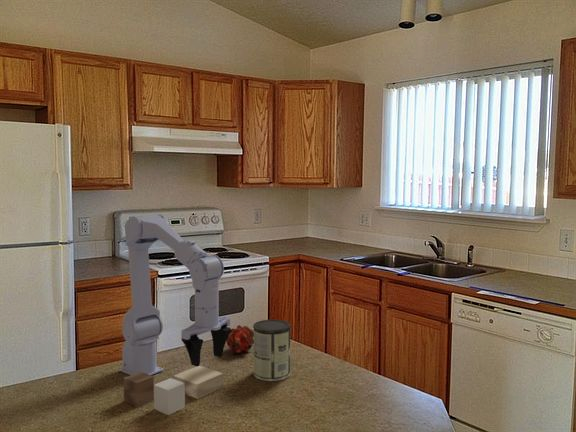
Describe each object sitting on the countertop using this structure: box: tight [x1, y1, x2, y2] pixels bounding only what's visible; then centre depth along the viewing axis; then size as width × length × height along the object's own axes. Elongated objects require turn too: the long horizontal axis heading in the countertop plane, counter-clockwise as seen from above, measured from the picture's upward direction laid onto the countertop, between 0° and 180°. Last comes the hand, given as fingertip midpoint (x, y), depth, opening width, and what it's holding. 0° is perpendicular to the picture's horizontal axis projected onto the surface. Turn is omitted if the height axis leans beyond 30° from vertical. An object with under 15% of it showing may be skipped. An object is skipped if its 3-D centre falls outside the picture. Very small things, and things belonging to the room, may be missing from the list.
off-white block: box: [153, 377, 186, 416], centre depth 122 cm, size 5×5×6 cm
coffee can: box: [252, 319, 292, 382], centre depth 143 cm, size 10×10×14 cm
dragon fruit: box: [226, 324, 254, 355], centre depth 161 cm, size 8×8×12 cm
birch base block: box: [172, 365, 224, 400], centre depth 134 cm, size 9×9×4 cm
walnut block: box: [123, 372, 155, 408], centre depth 126 cm, size 5×5×6 cm
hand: (206, 360), depth 126 cm, fingers open, 7 cm apart
